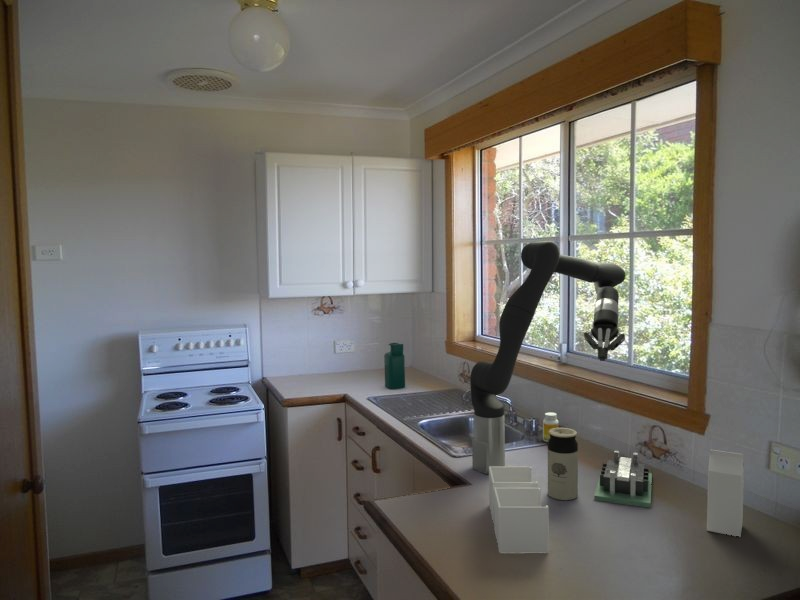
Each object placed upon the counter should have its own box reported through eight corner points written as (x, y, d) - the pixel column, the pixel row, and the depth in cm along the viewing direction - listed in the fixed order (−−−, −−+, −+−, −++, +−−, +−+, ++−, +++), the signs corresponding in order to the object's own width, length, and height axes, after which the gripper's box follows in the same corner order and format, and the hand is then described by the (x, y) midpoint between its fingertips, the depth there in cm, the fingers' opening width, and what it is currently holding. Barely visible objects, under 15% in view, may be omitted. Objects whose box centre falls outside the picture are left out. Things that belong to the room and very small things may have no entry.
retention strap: (620, 460, 179) (620, 456, 178) (631, 461, 177) (631, 458, 177) (616, 479, 164) (617, 476, 164) (628, 481, 163) (628, 477, 163)
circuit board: (650, 507, 159) (650, 503, 159) (594, 499, 164) (594, 495, 164) (651, 477, 179) (651, 473, 179) (601, 471, 184) (601, 467, 184)
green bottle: (383, 386, 300) (382, 342, 298) (399, 384, 303) (398, 340, 301) (391, 390, 291) (390, 345, 289) (407, 388, 294) (406, 343, 292)
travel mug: (557, 486, 173) (557, 425, 172) (583, 494, 168) (583, 431, 166) (542, 495, 168) (542, 431, 166) (568, 503, 162) (568, 438, 161)
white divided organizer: (489, 506, 162) (488, 466, 161) (530, 506, 162) (530, 466, 161) (499, 554, 138) (498, 507, 136) (548, 554, 137) (548, 507, 136)
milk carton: (740, 538, 142) (743, 459, 140) (706, 531, 145) (708, 453, 144) (742, 525, 148) (744, 449, 146) (709, 519, 151) (711, 445, 150)
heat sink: (647, 499, 161) (647, 475, 160) (598, 493, 166) (598, 469, 165) (648, 476, 177) (649, 454, 176) (603, 470, 181) (604, 449, 181)
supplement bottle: (541, 438, 216) (541, 411, 215) (556, 437, 216) (556, 411, 215) (545, 443, 211) (545, 416, 210) (560, 442, 211) (560, 415, 210)
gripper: (584, 307, 198) (579, 351, 188) (627, 308, 193) (624, 353, 183) (585, 321, 204) (581, 365, 194) (628, 323, 199) (625, 367, 188)
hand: (602, 359), depth 188 cm, fingers closed
